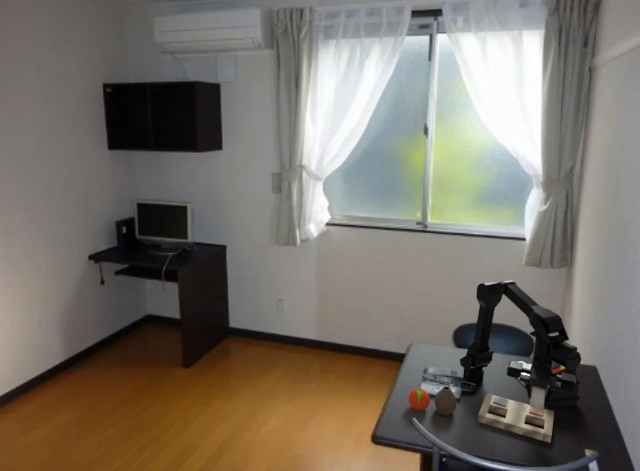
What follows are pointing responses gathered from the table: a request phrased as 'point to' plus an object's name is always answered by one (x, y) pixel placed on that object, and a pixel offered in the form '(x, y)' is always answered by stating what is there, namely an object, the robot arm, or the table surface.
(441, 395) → the vase
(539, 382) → the robot arm
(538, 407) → the plug
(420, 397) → the clementine
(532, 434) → the socket board
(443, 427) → the table surface
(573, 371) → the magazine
